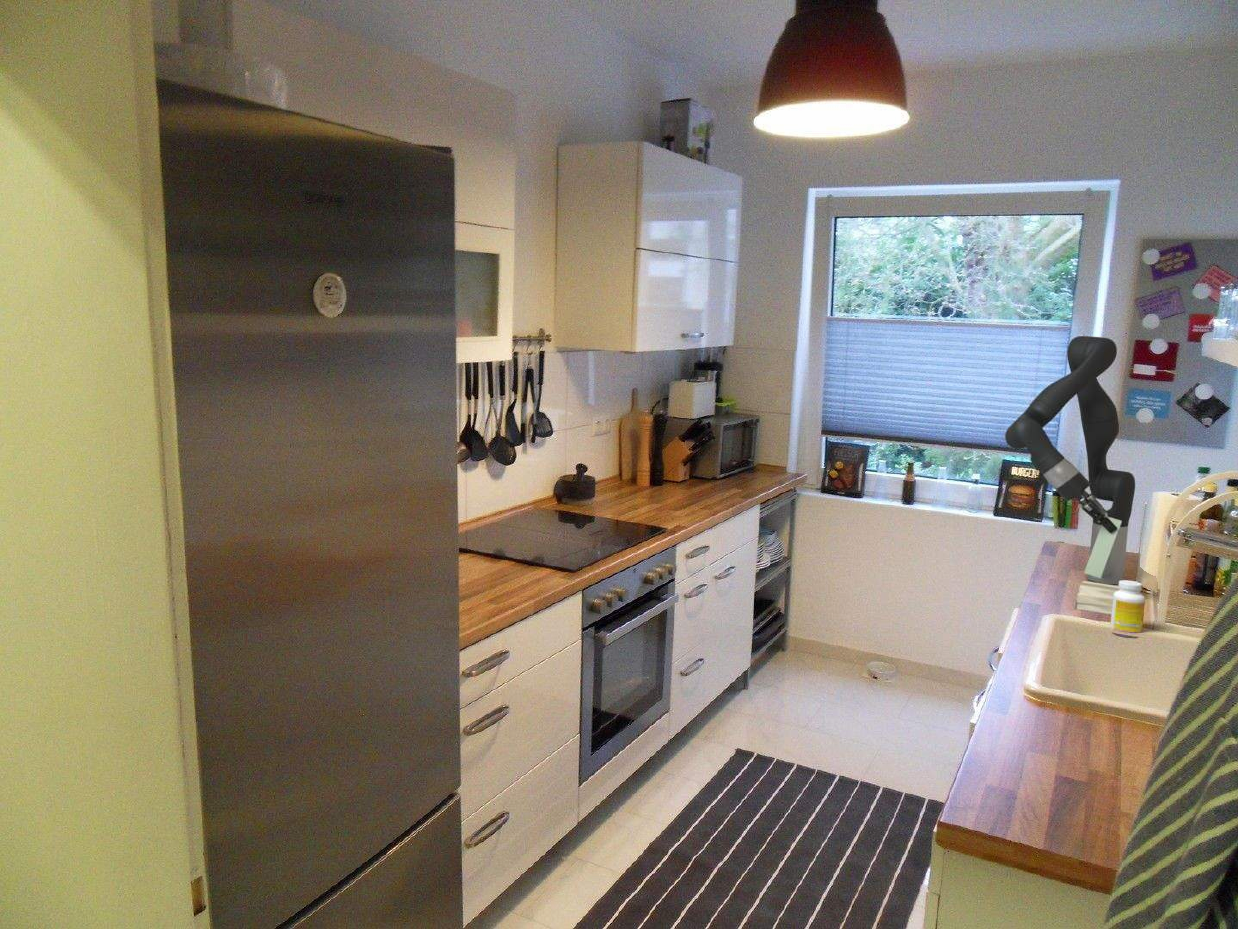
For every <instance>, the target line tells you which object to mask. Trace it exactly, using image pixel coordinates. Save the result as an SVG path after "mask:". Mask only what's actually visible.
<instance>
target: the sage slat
mask: <svg viewBox="0 0 1238 929" xmlns="http://www.w3.org/2000/svg"><path fill="white" fill-rule="evenodd" d="M1108 518H1109V519H1110V520H1111V521H1112V523H1113V524H1114V525H1115V526H1116V527H1117V530H1115V531H1114V532H1112V533H1109V532H1108V531H1107V529H1106V528H1105V527H1104V526H1103V525H1102V526H1101V528H1100V531H1099V534H1098V536H1097V539H1096V542H1095V545H1094V547H1093V550H1092V553H1091V555H1090V554H1089V557H1090V558H1089V559H1088V561H1087V564H1086V567H1085V569H1084V572H1083V573H1084V574H1086V575H1088V574H1089V575H1092V576H1094V577H1097V578H1101V576H1102V573H1103V570H1104V568H1105V565H1106V562H1107V560H1108V557H1109V554H1110V552H1111V549H1112V546H1113V544H1114V541H1115V538H1116V536H1117V533H1118V530H1119V527H1120V525H1121V522H1122V521H1121V520H1117V519H1114V518H1111V517H1108Z"/></svg>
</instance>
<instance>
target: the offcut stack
mask: <svg viewBox="0 0 1238 929" xmlns="http://www.w3.org/2000/svg"><path fill="white" fill-rule="evenodd" d="M1119 589H1120V588H1119V586H1117V585H1115V584H1104V583H1098V582H1094V581H1086V580H1083V581H1081V584H1080V585H1079V588H1078V589H1077V596H1076V598H1077V599H1076V601H1077V602H1078V604H1077V609H1080V610H1079V611H1083V610H1087V611H1086V612H1090V611H1093V612H1092V613H1096V612H1100V613H1099V614H1103V613H1106V614H1105V615H1109V614H1111V613H1112V603H1113V594H1114V593H1115V592H1116V591H1119ZM1077 609H1076V610H1077Z"/></svg>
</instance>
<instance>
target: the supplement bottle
mask: <svg viewBox="0 0 1238 929" xmlns="http://www.w3.org/2000/svg"><path fill="white" fill-rule="evenodd" d="M1142 586H1143V584H1142V583H1140V582H1138V581H1135V580H1125V579H1123V580H1121V581H1119V588H1120V589H1119V591H1116V592H1115V593H1114V594H1113V603H1112V613H1111V615H1110V625H1109V628H1111V629H1112V630H1114V631H1118V632H1121V633H1116V632H1112V634H1113V635H1114V636H1116V637H1121V638H1125V639H1138V638H1140V636H1135V635H1128V634H1141V633H1142V632H1143V625H1144V624H1143V623H1144V613H1145V605H1146V604H1145V603H1146V598H1145V596H1144V595H1143V594H1142V593H1141V590H1142ZM1122 633H1127V634H1122Z"/></svg>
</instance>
